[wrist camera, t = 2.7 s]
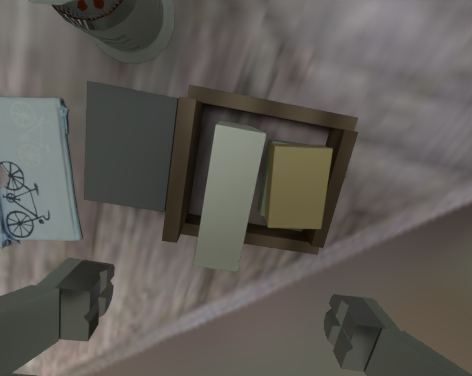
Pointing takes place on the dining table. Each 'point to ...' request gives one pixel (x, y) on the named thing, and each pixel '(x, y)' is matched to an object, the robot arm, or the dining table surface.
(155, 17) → the french press
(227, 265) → the pale grey rectangular block
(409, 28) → the dining table surface
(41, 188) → the light flat printed piece
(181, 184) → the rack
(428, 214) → the dining table surface
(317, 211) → the offcut upper
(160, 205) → the pad
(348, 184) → the dining table surface
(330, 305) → the robot arm
